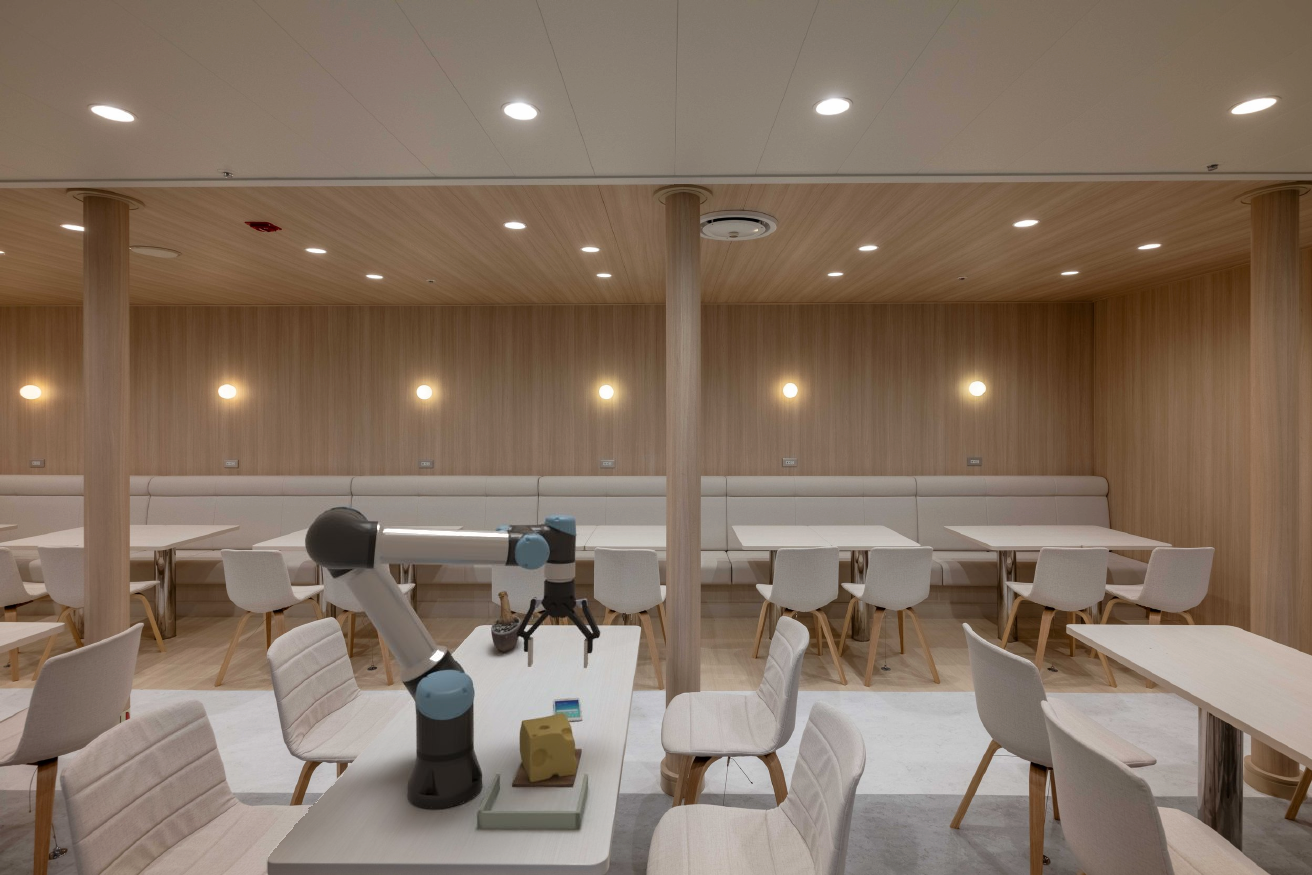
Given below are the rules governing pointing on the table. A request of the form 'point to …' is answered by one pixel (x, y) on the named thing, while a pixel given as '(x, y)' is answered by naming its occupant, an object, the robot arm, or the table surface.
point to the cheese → (547, 747)
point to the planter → (505, 626)
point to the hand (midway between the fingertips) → (558, 665)
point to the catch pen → (529, 813)
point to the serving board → (554, 781)
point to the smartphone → (568, 708)
